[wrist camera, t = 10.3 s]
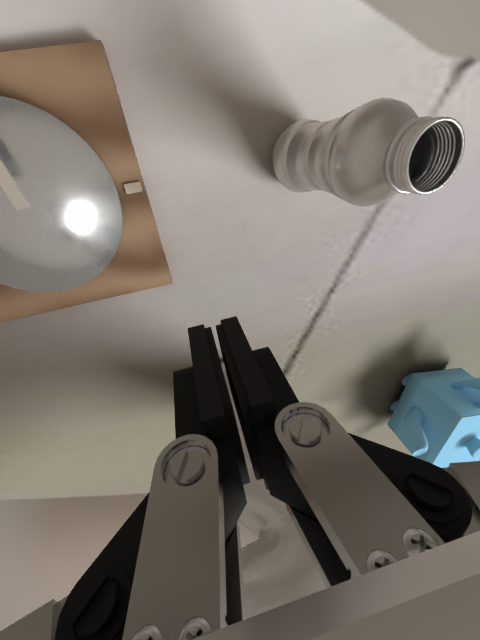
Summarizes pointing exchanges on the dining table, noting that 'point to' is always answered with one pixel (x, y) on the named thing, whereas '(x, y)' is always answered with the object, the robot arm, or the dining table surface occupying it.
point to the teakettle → (439, 416)
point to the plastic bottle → (370, 153)
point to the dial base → (114, 149)
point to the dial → (52, 203)
